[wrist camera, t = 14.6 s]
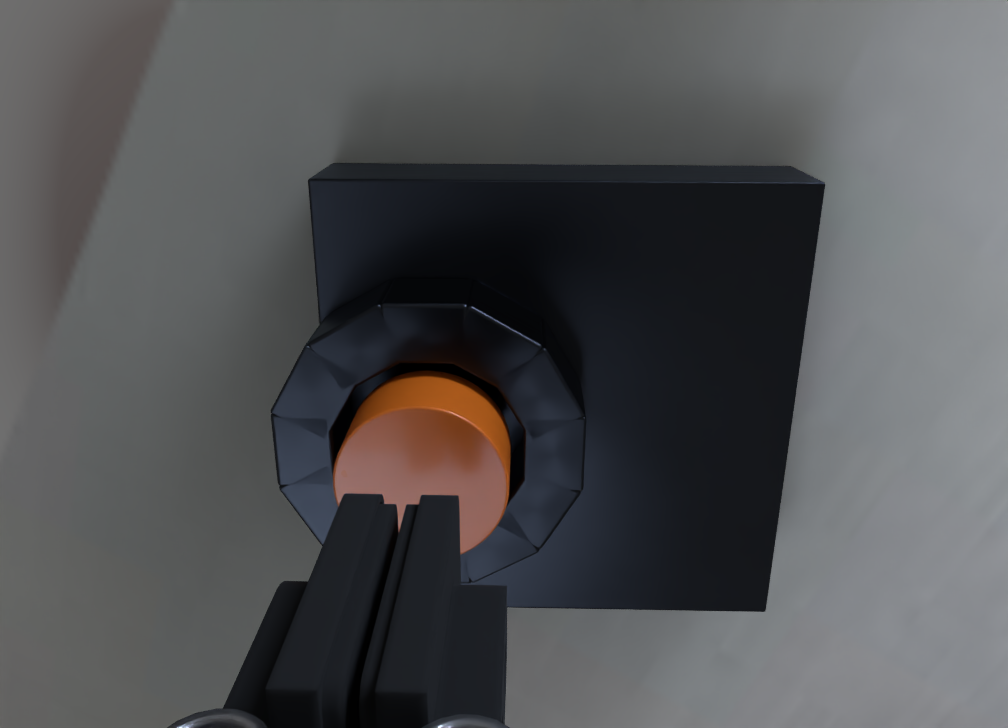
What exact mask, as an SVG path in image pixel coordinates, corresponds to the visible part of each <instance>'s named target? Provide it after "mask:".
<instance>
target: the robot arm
mask: <svg viewBox="0 0 1008 728" xmlns="http://www.w3.org/2000/svg"><path fill="white" fill-rule="evenodd" d="M506 661H507V586H503V585H461V560H460V508H459V496H458V495H421V497H420V501H419V504H407V505H406V507H405V511H404V515H403V519H402V523H401V527H400V530H399V531H398V512H397V506H396V504H384V498H383V495H382V494H354V493H346V494H344V495H343V497H342V499H341V502H340V504H339V507H338V509H337V512H336V514H335V516H334V519H333V521H332V524H331V526H330V529H329V531H328V534H327V536H326V539H325V541H324V544H323V546H322V549H321V551H320V554H319V556H318V559H317V561H316V564H315V566H314V569H313V571H312V574H311V576H310V579H309V581H308V582H304V581H284V582H282V583H281V584H280V585H279V587H278V588H277V590H276V592H275V594H274V597H273V599H272V601H271V603H270V606H269V608H268V610H267V612H266V614H265V617H264V619H263V621H262V623H261V625H260V628H259V630H258V632H257V634H256V636H255V639H254V641H253V643H252V645H251V648H250V650H249V652H248V654H247V656H246V659H245V661H244V663H243V665H242V667H241V670H240V672H239V674H238V676H237V678H236V681H235V683H234V685H233V687H232V690H231V692H230V694H229V696H228V698H227V701H226V703H225V705H224V707H223V709H212V710H208V711H203V712H198V713H195V714H192V715H190V716H188V717H185V718H183V719H181V720H178V721H176V722H175V723H173V724H172V725H170V726H169V727H167V728H509V727H508V726H506V725H505V697H506Z"/></svg>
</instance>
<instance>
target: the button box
mask: <svg viewBox="0 0 1008 728" xmlns="http://www.w3.org/2000/svg"><path fill="white" fill-rule="evenodd" d="M308 185H309V198H310V210H311V223H312V235H313V248H314V260H315V273H316V285H317V298H318V310H319V323H320V325H319V326H318V328H317V329H316V331H315V332H314V333H313V335H312V336H311V338H310V339H309V340H308V342H307V343H306V345H305V346H304V348H303V350H302V352H301V354H300V356H299V358H298V359H297V361H296V363H295V365H294V367H293V369H292V371H291V373H290V375H289V377H288V378H287V380H286V382H285V384H284V386H283V388H282V390H281V392H280V394H279V396H278V397H277V399H276V401H275V403H274V405H273V407H272V409H271V413H272V414H271V423H272V432H273V442H274V451H275V460H276V470H277V479H278V484H279V485H280V486H279V488H280V490H281V492H282V493H283V494H284V496H285V497H286V498H287V500H288V501H289V502H290V504H291V505H292V506H293V508H294V509H295V510H296V512H297V513H298V514H299V516H300V517H301V518H302V520H303V521H304V522H305V524H306V525H307V526H308V528H309V529H310V530H311V532H312V533H313V534H314V536H315V537H316V538H317V540H318V541H319V542H320V544H321V545H322V546H323V544H324V541H325V539H326V536H327V534H328V531H329V529H330V526H331V524H332V521H333V519H334V516H335V514H336V512H337V509H338V505H337V501H336V498H335V495H334V488H333V471H334V464H335V461H336V458H337V454H338V452H339V450H340V448H341V445H342V443H343V441H344V439H345V436H346V434H347V432H348V430H349V428H350V425H351V423H352V421H353V419H354V416H355V414H356V412H357V410H358V408H359V406H360V405H361V403H362V402H363V400H364V399H365V398H366V397H367V396H368V395H369V393H370V392H371V391H373V390H374V389H375V388H376V387H377V386H379V385H380V384H382V383H383V382H385V381H387V380H389V379H391V378H393V377H395V376H398V375H401V374H404V373H408V372H414V371H426V370H429V371H440V372H446V373H450V374H453V375H456V376H460V377H462V378H464V379H466V380H468V381H470V382H472V383H473V384H475V385H477V386H478V387H480V388H481V389H482V390H483V391H484V392H486V393H487V394H488V395H489V396H490V397H491V398H492V399H493V400H494V402H495V403H496V404H497V406H498V407H499V409H500V410H501V412H502V414H503V416H504V418H505V420H506V423H507V426H508V429H509V434H510V442H511V454H510V485H509V498H508V502H507V506H506V509H505V512H504V514H503V517H502V518H501V520H500V522H499V524H498V525H497V527H496V528H495V529H494V531H493V532H492V533H491V534H490V535H489V536H488V537H487V538H486V539H485V540H484V541H483V542H481V543H480V544H479V545H477V546H476V547H475V548H473V549H471V550H469V551H467V552H466V553H463V554H461V555H460V560H461V585H503V586H507V607H516V608H575V609H635V610H695V611H755V612H764V611H765V610H766V603H767V596H768V589H769V582H770V575H771V568H772V560H773V553H774V546H775V539H776V532H777V525H778V518H779V510H780V503H781V496H782V489H783V482H784V475H785V468H786V460H787V453H788V446H789V439H790V432H791V425H792V418H793V411H794V403H795V396H796V389H797V382H798V375H799V368H800V361H801V353H802V346H803V339H804V332H805V325H806V318H807V311H808V303H809V296H810V289H811V282H812V275H813V268H814V261H815V253H816V246H817V239H818V232H819V225H820V218H821V211H822V203H823V196H824V189H825V183H824V182H822V181H820V180H818V179H816V178H814V177H812V176H810V175H808V174H806V173H804V172H802V171H800V170H798V169H796V168H794V167H791V166H690V165H535V164H380V163H333V164H331V165H329V166H328V167H326V168H325V169H323V170H322V171H320V172H319V173H317V174H316V175H314V176H313V177H311V178H310V179H309V180H308Z"/></svg>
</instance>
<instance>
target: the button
mask: <svg viewBox="0 0 1008 728" xmlns="http://www.w3.org/2000/svg"><path fill="white" fill-rule="evenodd" d="M510 454H511V442H510V434H509V429H508V426H507V423H506V420H505V418H504V416H503V414H502V412H501V410H500V409H499V407H498V406H497V404H496V403H495V402H494V400H493V399H492V398H491V397H490V396H489V395H488V394H487V393H486V392H484V391H483V390H482V389H481V388H480V387H478V386H477V385H475V384H473V383H472V382H470V381H468V380H466V379H464V378H462V377H460V376H456V375H453V374H450V373H446V372H440V371H429V370H426V371H414V372H408V373H404V374H401V375H398V376H395V377H393V378H391V379H389V380H387V381H385V382H383V383H382V384H380V385H379V386H377V387H376V388H375V389H374V390H373V391H371V392H370V393H369V395H368V396H367V397H366V398H365V399H364V400H363V402H362V403H361V405H360V406H359V408H358V410H357V412H356V414H355V416H354V419H353V421H352V423H351V425H350V428H349V430H348V432H347V434H346V436H345V439H344V441H343V443H342V445H341V448H340V450H339V452H338V454H337V458H336V461H335V464H334V471H333V488H334V495H335V498H336V501H337V505H338V507H339V504H340V502H341V499H342V497H343V495H344V494H346V493H354V494H382V495H383V498H384V504H396V506H397V512H398V531H399V530H400V527H401V523H402V519H403V515H404V511H405V507H406V505H407V504H419V501H420V497H421V495H458V496H459V508H460V555H461V554H463V553H466V552H467V551H469V550H471V549H473V548H475V547H476V546H477V545H479V544H480V543H481V542H483V541H484V540H485V539H486V538H487V537H488V536H489V535H490V534H491V533H492V532H493V531H494V529H495V528H496V527H497V525H498V524H499V522H500V520H501V518H502V517H503V514H504V512H505V509H506V506H507V502H508V498H509V485H510Z"/></svg>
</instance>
